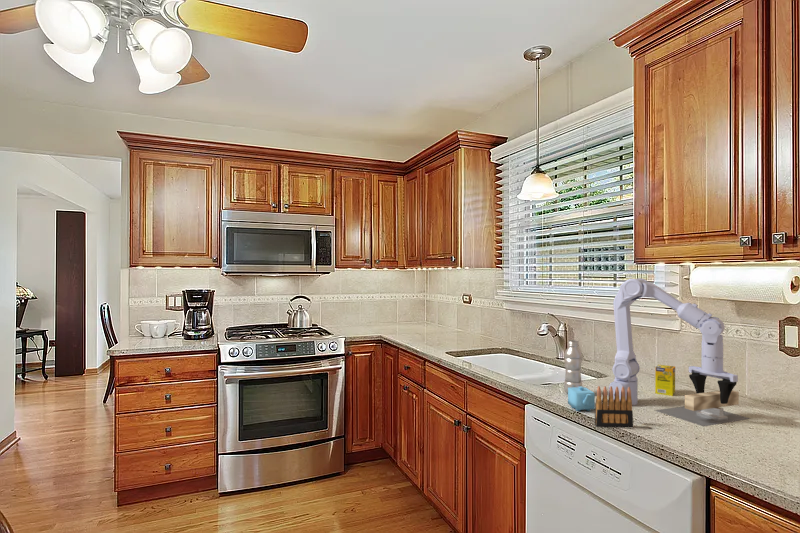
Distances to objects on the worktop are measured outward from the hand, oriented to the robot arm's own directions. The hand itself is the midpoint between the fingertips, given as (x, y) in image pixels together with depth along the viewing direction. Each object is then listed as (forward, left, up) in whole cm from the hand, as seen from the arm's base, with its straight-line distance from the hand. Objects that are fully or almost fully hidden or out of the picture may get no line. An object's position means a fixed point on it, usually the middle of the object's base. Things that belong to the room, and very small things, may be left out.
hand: (712, 400), depth 151 cm
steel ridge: (0, 0, -5) cm, 5 cm away
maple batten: (0, 0, -2) cm, 2 cm away
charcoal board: (+1, +4, -6) cm, 8 cm away
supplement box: (+17, +24, -7) cm, 30 cm away
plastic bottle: (-11, +43, -7) cm, 45 cm away
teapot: (-25, +28, -7) cm, 39 cm away
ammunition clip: (-31, +12, -7) cm, 34 cm away
